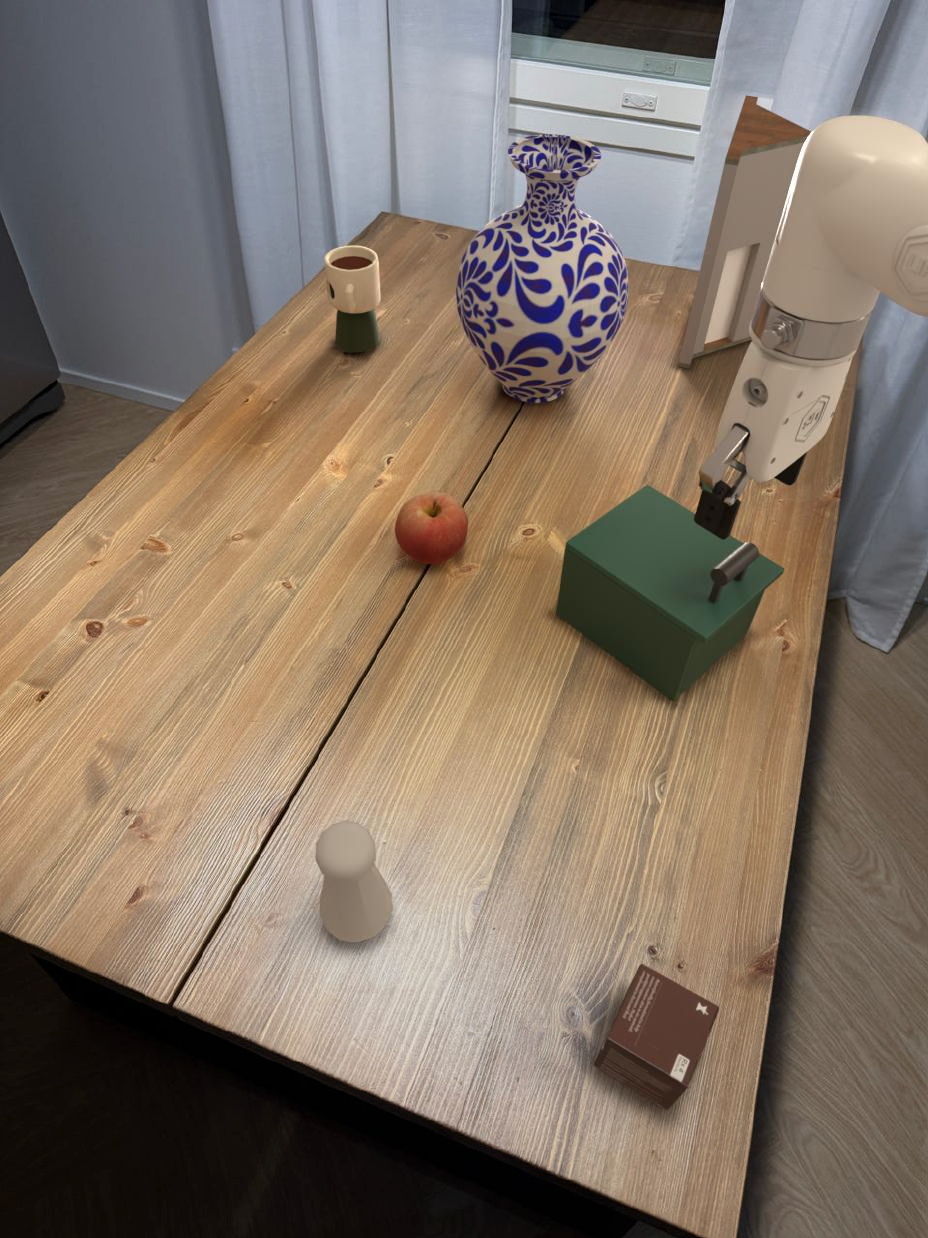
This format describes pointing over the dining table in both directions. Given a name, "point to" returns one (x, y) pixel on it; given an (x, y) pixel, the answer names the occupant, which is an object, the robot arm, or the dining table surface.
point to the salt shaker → (351, 883)
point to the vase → (543, 277)
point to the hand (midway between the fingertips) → (744, 502)
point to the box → (657, 1037)
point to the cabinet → (742, 229)
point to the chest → (641, 629)
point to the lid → (675, 562)
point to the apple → (431, 527)
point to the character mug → (354, 296)
